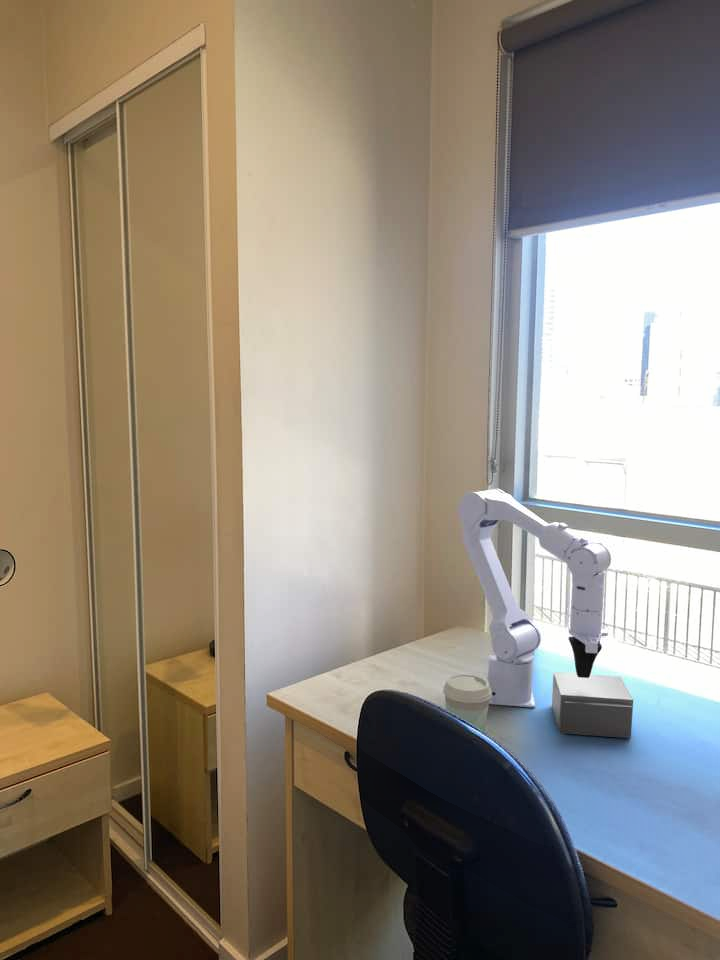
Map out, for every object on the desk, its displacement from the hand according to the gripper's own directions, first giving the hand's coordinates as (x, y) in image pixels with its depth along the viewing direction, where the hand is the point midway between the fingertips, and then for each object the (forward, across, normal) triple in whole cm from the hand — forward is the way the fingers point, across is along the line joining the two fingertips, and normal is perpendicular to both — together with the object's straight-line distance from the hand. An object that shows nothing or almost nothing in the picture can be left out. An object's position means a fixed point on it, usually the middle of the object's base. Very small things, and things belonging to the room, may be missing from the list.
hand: (582, 676), depth 137 cm
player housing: (+9, +2, -2) cm, 10 cm away
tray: (+9, 0, -2) cm, 9 cm away
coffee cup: (+10, -13, +22) cm, 27 cm away
